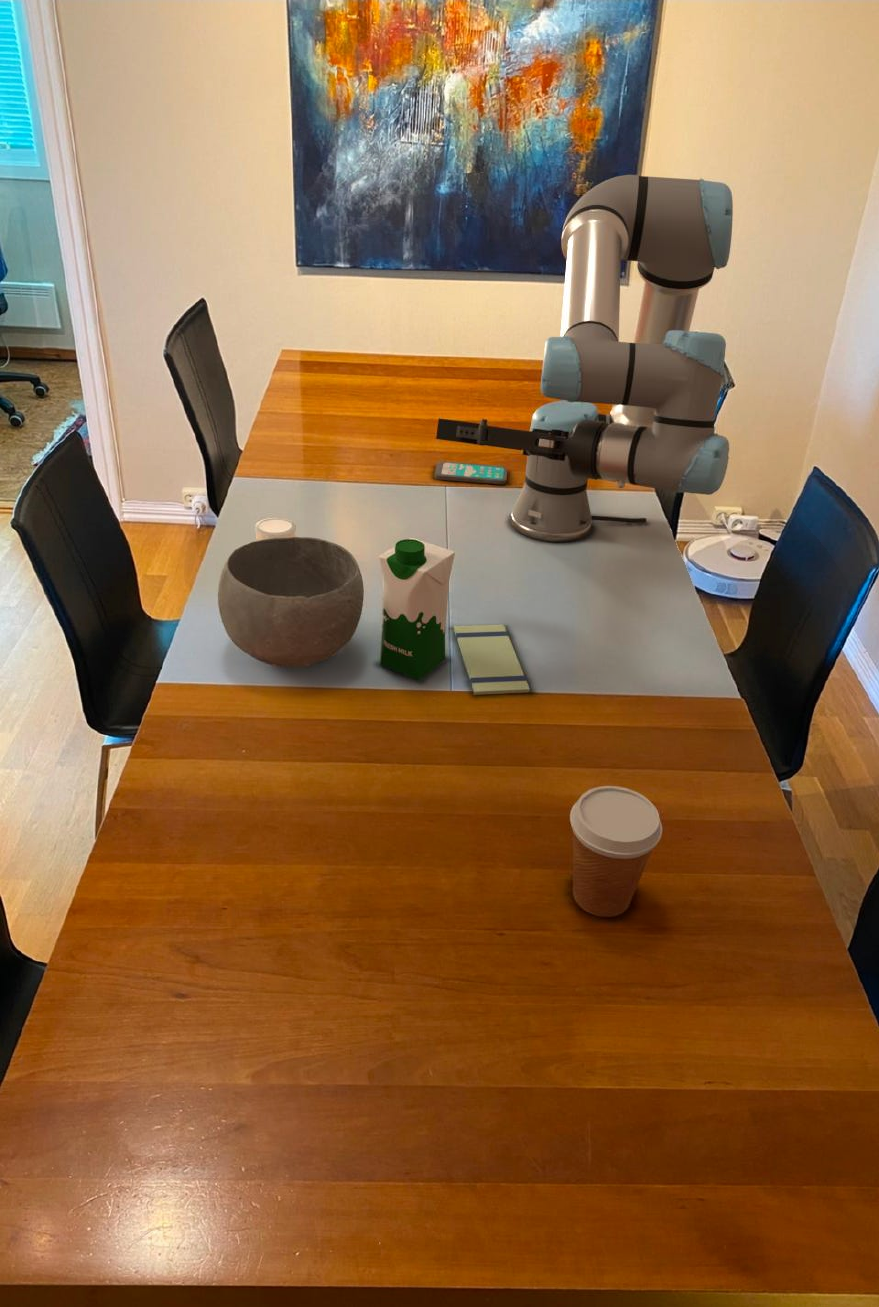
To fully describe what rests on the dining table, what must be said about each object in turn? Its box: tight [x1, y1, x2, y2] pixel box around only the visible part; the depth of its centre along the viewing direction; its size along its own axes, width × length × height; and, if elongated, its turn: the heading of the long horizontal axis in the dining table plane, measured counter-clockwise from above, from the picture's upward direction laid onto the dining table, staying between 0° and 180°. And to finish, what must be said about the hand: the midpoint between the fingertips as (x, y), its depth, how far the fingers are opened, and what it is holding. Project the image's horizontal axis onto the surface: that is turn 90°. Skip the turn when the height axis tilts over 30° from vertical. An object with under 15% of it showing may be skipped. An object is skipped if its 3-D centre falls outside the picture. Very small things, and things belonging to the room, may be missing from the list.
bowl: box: [217, 536, 365, 668], centre depth 142 cm, size 20×20×15 cm
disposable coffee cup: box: [569, 785, 663, 918], centre depth 105 cm, size 10×10×12 cm
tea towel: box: [453, 623, 531, 696], centre depth 147 cm, size 8×18×1 cm, turn 9°
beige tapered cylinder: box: [254, 517, 297, 541], centre depth 168 cm, size 7×7×7 cm
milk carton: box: [378, 537, 456, 682], centre depth 140 cm, size 9×9×20 cm
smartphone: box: [433, 461, 508, 485], centre depth 207 cm, size 9×1×15 cm
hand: (460, 432), depth 138 cm, fingers open, 13 cm apart
